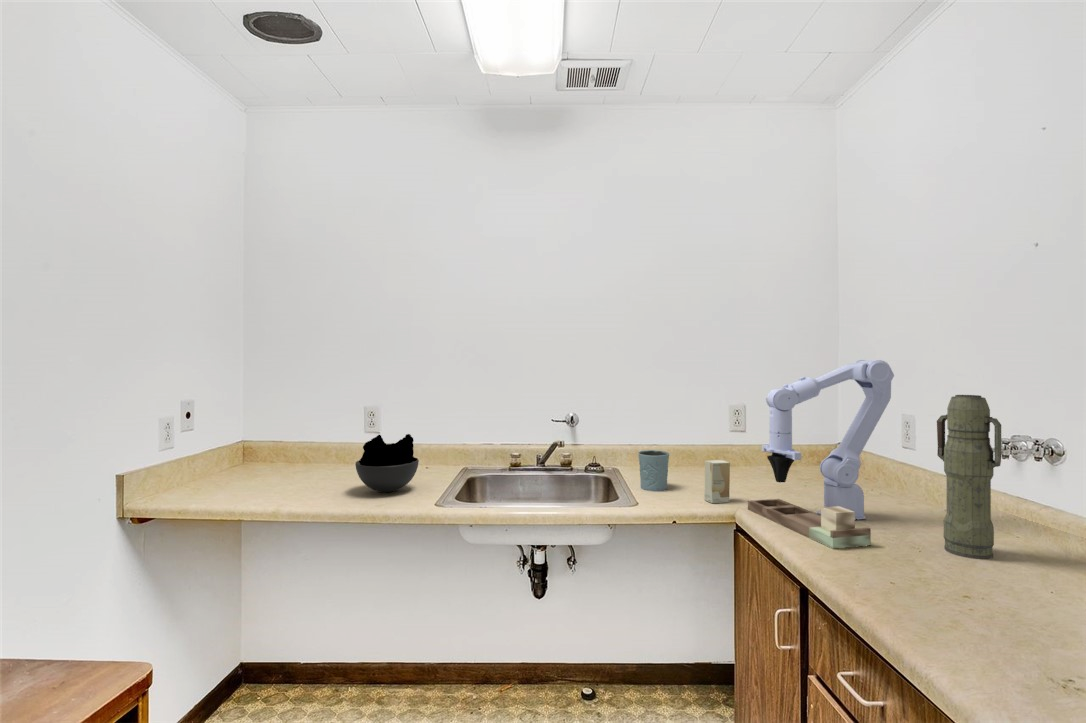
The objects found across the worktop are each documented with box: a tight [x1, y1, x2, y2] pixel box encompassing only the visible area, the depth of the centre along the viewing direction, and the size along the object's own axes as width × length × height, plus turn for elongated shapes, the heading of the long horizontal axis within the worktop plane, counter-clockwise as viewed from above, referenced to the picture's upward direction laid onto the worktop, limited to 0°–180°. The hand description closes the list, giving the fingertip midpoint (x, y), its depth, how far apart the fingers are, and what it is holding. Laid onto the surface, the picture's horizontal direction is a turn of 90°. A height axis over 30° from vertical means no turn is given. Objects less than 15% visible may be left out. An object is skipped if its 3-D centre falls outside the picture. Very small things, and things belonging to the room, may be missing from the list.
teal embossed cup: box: [637, 449, 670, 492], centre depth 185 cm, size 10×10×12 cm
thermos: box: [936, 394, 1002, 560], centre depth 123 cm, size 9×12×35 cm
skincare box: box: [704, 459, 731, 504], centre depth 168 cm, size 6×4×12 cm
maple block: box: [820, 506, 856, 532], centre depth 131 cm, size 5×5×5 cm
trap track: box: [747, 498, 872, 550], centre depth 143 cm, size 10×34×4 cm, turn 12°
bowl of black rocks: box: [355, 433, 420, 493], centre depth 182 cm, size 20×20×19 cm
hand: (780, 481), depth 152 cm, fingers closed
